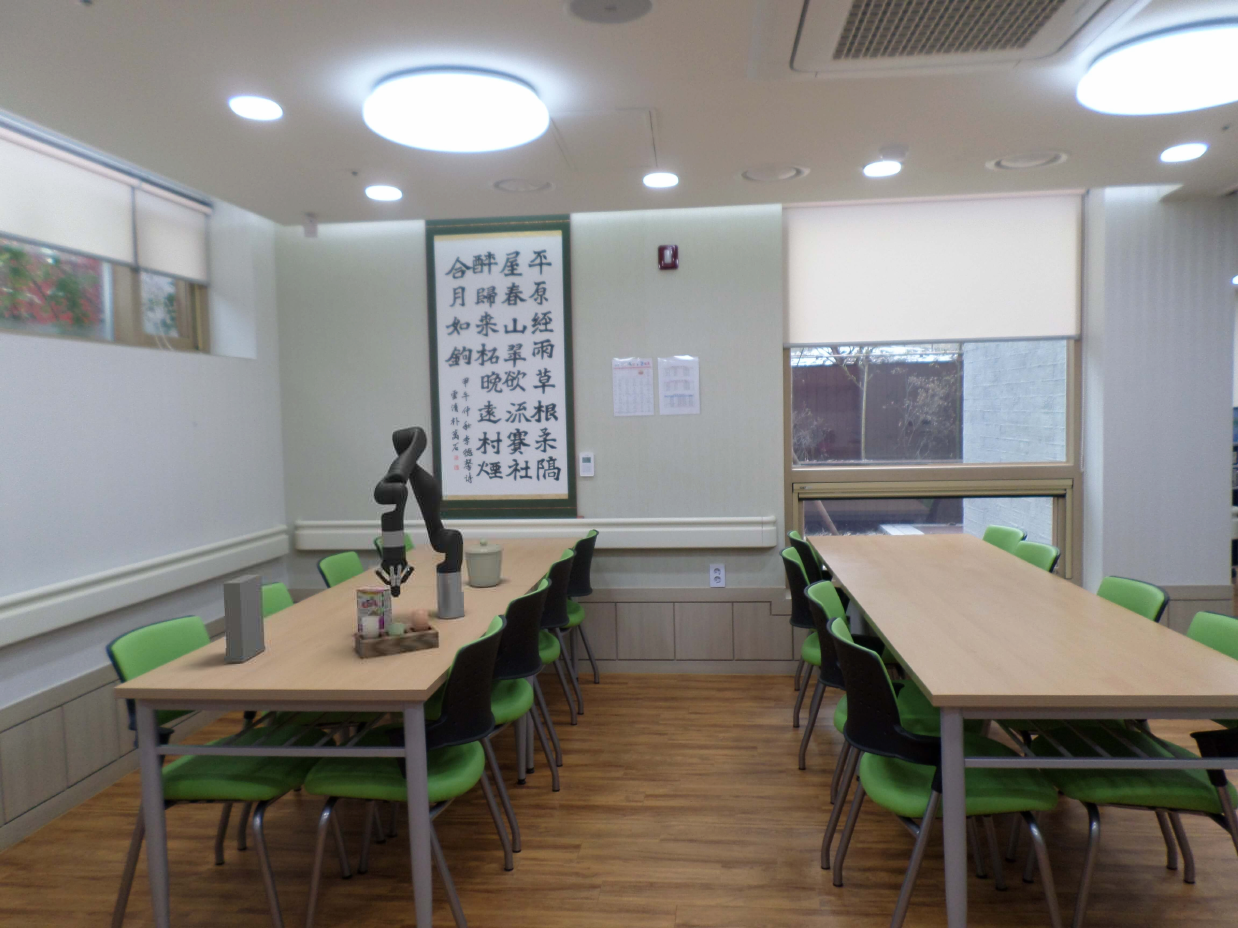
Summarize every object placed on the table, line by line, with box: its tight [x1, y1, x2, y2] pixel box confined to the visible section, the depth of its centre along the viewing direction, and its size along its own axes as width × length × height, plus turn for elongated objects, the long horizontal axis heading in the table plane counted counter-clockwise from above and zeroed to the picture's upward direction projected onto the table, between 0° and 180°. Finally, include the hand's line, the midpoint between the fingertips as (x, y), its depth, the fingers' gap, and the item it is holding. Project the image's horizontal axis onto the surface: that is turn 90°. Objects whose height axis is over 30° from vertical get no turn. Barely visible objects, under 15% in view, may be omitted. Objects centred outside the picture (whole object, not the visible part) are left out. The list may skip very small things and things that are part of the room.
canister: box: [463, 538, 505, 588], centre depth 351 cm, size 18×18×21 cm
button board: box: [353, 623, 440, 659], centre depth 253 cm, size 24×14×5 cm, turn 118°
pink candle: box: [412, 608, 429, 632], centre depth 257 cm, size 5×5×7 cm
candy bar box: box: [356, 586, 393, 632], centre depth 269 cm, size 11×5×16 cm, turn 71°
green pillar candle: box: [388, 622, 405, 636], centre depth 253 cm, size 5×5×7 cm
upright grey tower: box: [223, 574, 266, 664], centre depth 246 cm, size 14×6×25 cm, turn 178°
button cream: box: [362, 616, 379, 640], centre depth 249 cm, size 5×5×7 cm
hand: (395, 596), depth 252 cm, fingers closed
